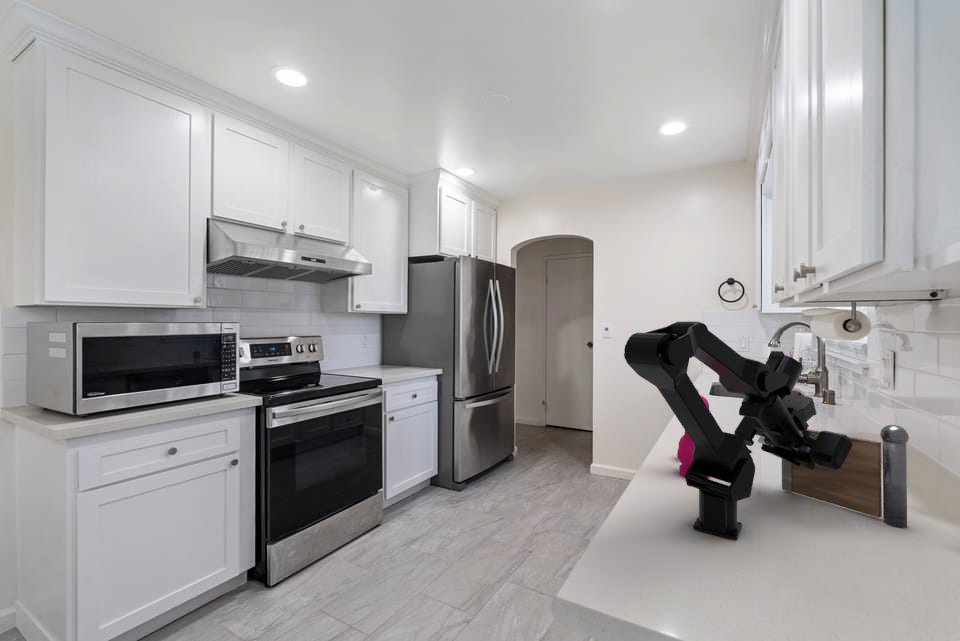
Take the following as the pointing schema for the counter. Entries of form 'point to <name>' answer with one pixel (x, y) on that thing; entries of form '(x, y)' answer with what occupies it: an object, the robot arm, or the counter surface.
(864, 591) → the counter surface
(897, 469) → the gate post
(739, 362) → the robot arm
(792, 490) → the gate
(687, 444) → the pepper mill
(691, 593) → the counter surface
